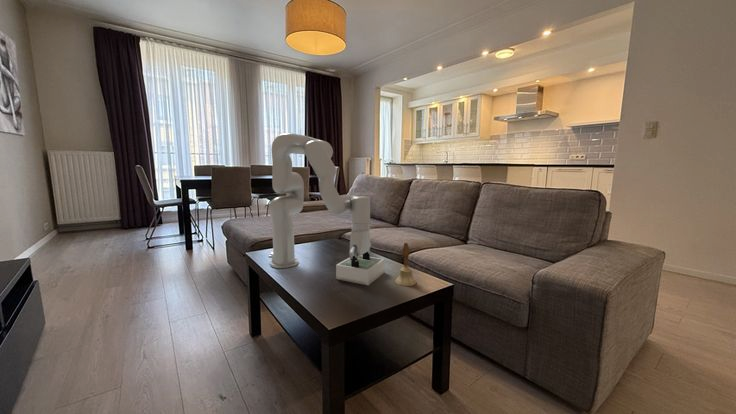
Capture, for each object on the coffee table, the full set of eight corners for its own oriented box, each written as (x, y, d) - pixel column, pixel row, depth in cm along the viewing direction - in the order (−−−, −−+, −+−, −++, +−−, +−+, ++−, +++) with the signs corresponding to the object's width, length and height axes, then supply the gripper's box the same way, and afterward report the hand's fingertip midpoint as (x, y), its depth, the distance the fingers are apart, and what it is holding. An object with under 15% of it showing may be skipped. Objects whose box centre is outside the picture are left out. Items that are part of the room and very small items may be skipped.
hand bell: (406, 288, 114) (407, 247, 112) (390, 281, 120) (391, 242, 118) (420, 282, 119) (421, 243, 117) (405, 276, 126) (405, 239, 123)
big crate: (336, 279, 123) (336, 264, 122) (355, 267, 137) (354, 254, 136) (368, 285, 116) (368, 270, 115) (384, 272, 130) (384, 259, 129)
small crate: (346, 274, 125) (346, 262, 125) (354, 268, 132) (354, 257, 131) (367, 278, 121) (367, 266, 120) (375, 272, 127) (375, 261, 126)
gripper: (362, 221, 133) (362, 259, 135) (341, 229, 117) (342, 271, 120) (378, 223, 129) (377, 262, 132) (358, 231, 114) (358, 274, 117)
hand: (360, 266), depth 126 cm, fingers open, 9 cm apart
